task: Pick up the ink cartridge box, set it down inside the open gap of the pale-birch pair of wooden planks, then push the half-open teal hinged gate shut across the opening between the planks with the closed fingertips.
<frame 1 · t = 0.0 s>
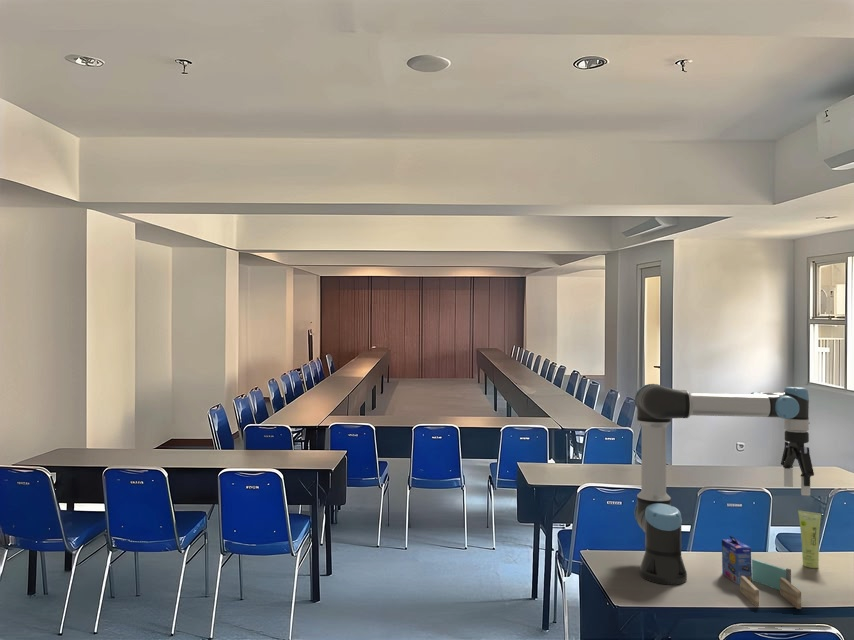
hand: (796, 490, 233), 28 cm above the table, tool pointing down, fingers open, 13 cm apart
gate: (771, 575, 217), point 4 cm above the table, hinge at 35.0°
pair of wooden planks: (769, 599, 206), on the table
ink cartridge box: (736, 579, 224), on the table
tube: (809, 566, 238), on the table
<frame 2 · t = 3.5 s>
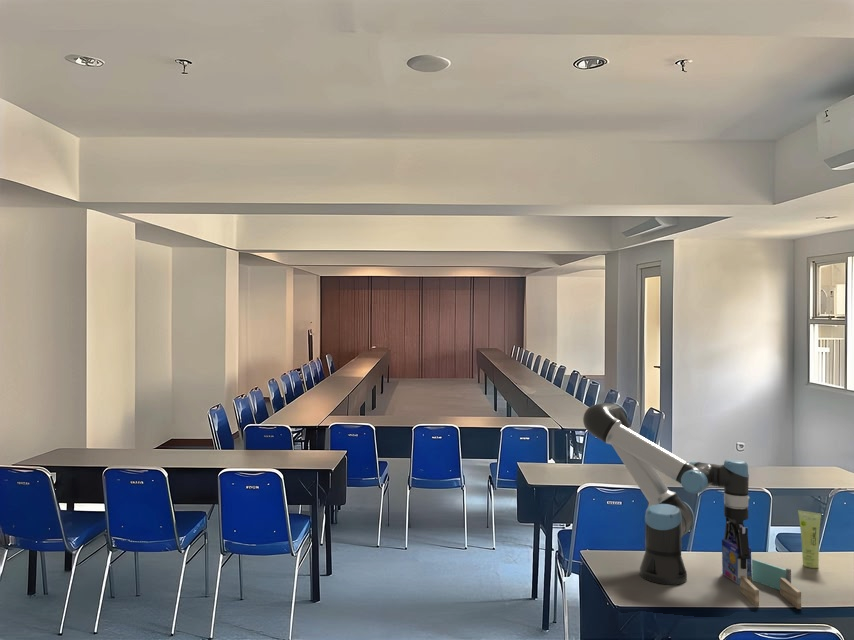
hand: (736, 572, 224), 2 cm above the table, tool pointing down, fingers closed on ink cartridge box, 10 cm apart
ink cartridge box: (736, 579, 224), on the table, touching gripper
everything else where it was.
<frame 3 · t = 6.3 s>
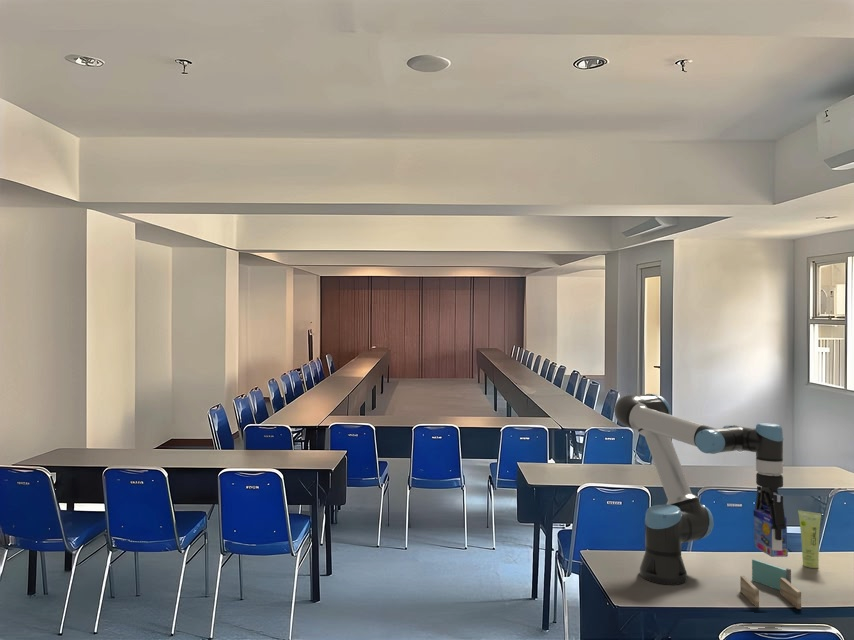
hand: (769, 544, 206), 17 cm above the table, tool pointing down, fingers closed on ink cartridge box, 10 cm apart
ink cartridge box: (770, 552, 206), point 15 cm above the table, touching gripper
everything else where it was.
when the fingers open (4 cm above the table, at t = 9.2 s): ink cartridge box drops 1 cm, on the table.
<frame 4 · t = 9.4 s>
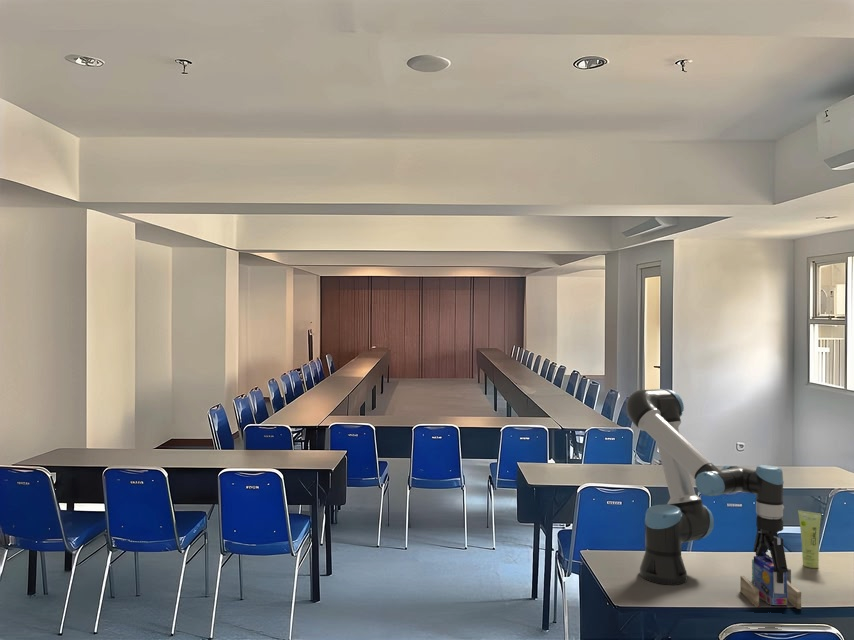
hand: (769, 585, 206), 5 cm above the table, tool pointing down, fingers open, 12 cm apart
ink cartridge box: (770, 600, 206), on the table
everything else where it was.
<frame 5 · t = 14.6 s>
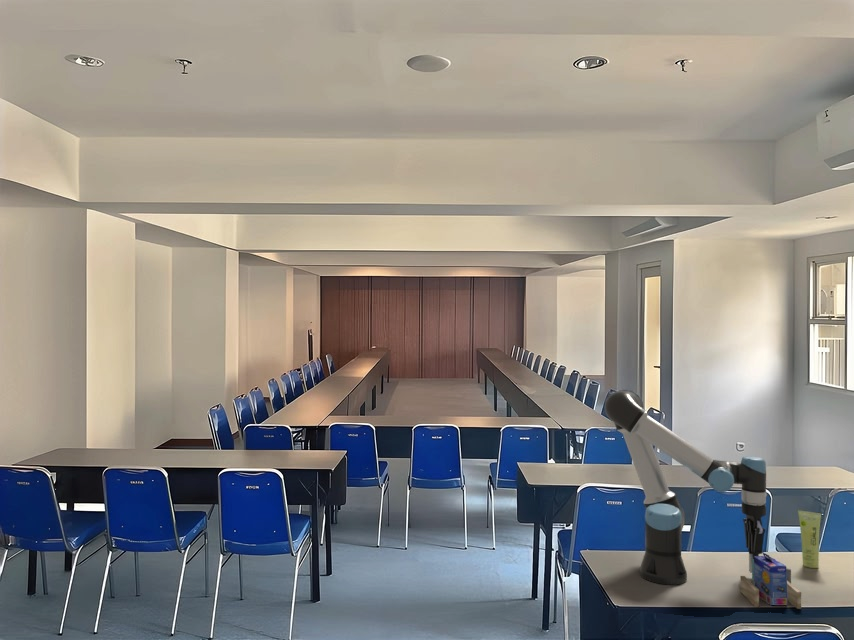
hand: (753, 572, 225), 2 cm above the table, tool pointing down, fingers closed
gate: (771, 575, 217), point 4 cm above the table, hinge at 35.1°, touching gripper
everything else where it was.
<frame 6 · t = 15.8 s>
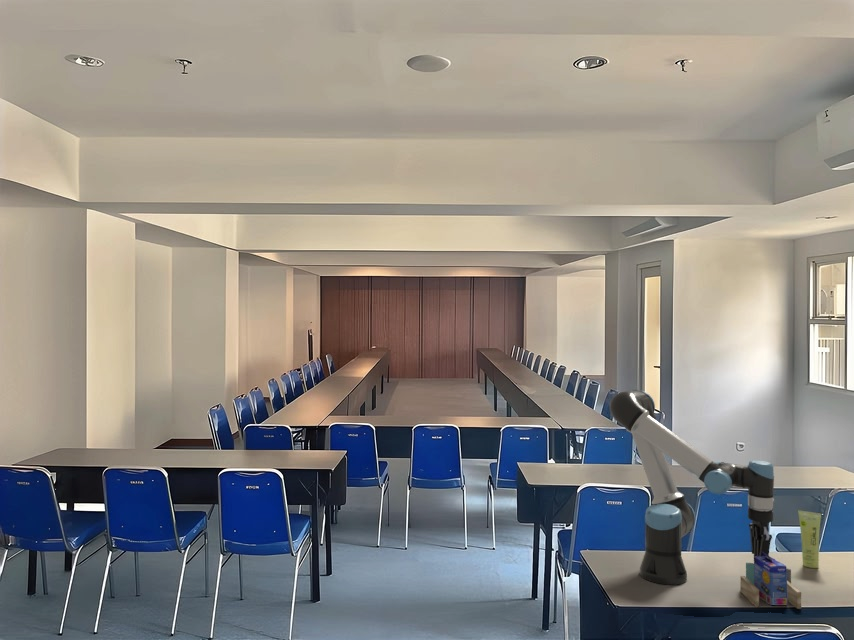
hand: (759, 578, 220), 2 cm above the table, tool pointing down, fingers closed
gate: (768, 576, 215), point 4 cm above the table, hinge at 59.6°, touching gripper
everything else where it was.
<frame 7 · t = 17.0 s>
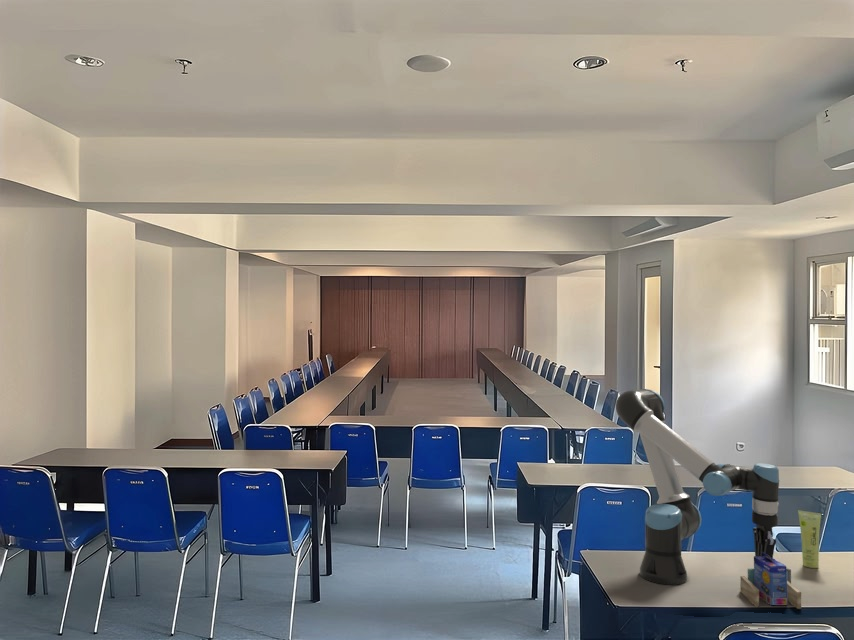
hand: (762, 583, 216), 1 cm above the table, tool pointing down, fingers closed
gate: (769, 580, 212), point 4 cm above the table, hinge at 90.7°, touching gripper
everything else where it was.
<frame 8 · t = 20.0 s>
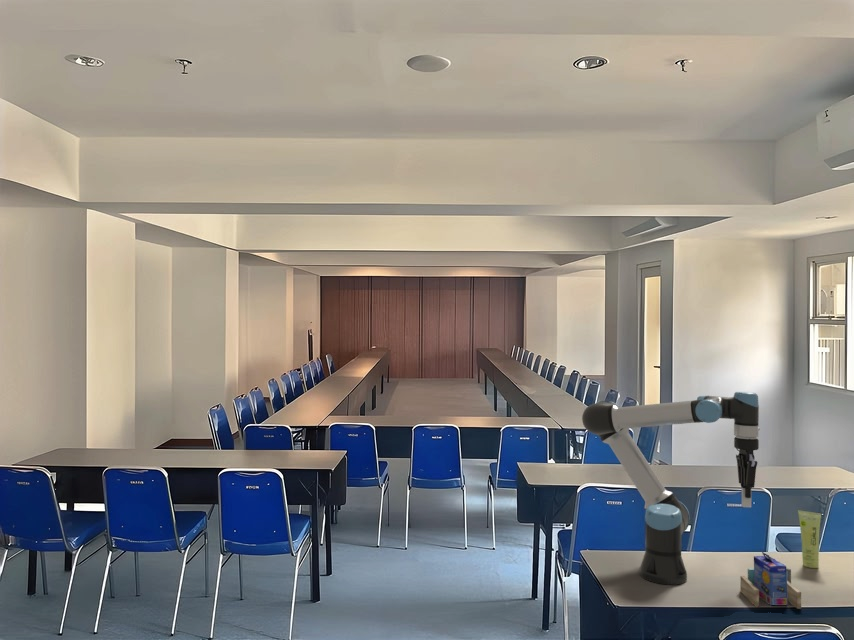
hand: (746, 506, 224), 24 cm above the table, tool pointing down, fingers closed
gate: (769, 580, 212), point 4 cm above the table, hinge at 90.7°
everything else where it was.
at the end: ink cartridge box inside the target area (0.2 cm from its centre), on the table; gate at +91° (first picture: +35°); ink cartridge box tilted 0° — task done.
